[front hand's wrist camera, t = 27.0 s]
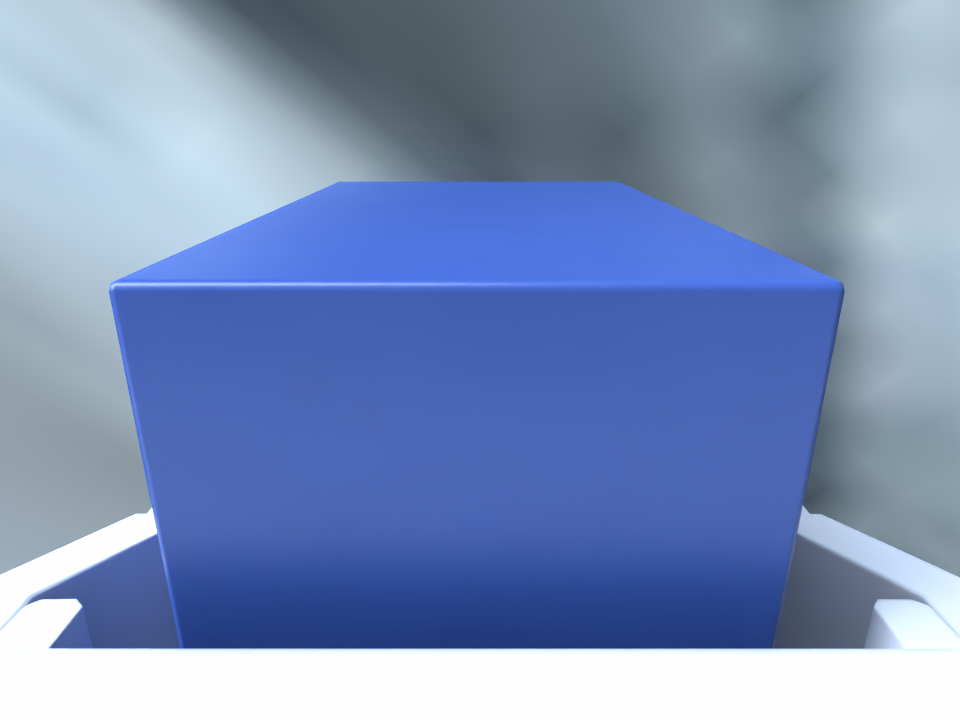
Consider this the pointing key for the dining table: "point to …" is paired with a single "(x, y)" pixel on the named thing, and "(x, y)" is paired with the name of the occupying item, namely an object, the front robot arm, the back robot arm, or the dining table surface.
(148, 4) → the dining table surface
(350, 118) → the dining table surface
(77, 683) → the front robot arm
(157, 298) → the block
